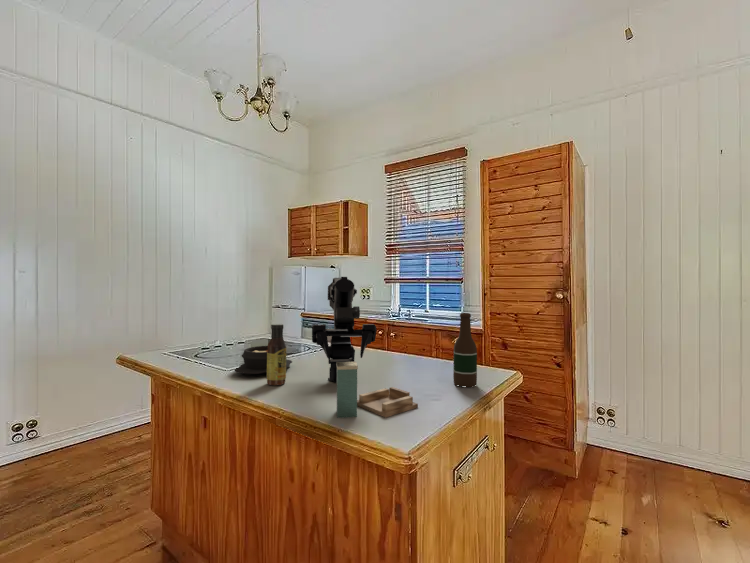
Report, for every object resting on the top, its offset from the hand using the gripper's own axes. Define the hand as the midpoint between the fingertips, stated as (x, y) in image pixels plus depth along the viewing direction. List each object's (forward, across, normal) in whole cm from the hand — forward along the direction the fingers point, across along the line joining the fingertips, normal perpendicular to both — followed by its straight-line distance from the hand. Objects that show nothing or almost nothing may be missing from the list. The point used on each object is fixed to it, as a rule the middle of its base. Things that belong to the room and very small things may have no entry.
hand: (345, 357), depth 106 cm
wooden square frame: (+11, +11, +7) cm, 17 cm away
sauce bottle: (-8, -22, +26) cm, 35 cm away
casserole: (-21, -28, +40) cm, 53 cm away
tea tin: (+15, 0, +4) cm, 15 cm away
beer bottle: (-2, +41, +20) cm, 46 cm away
